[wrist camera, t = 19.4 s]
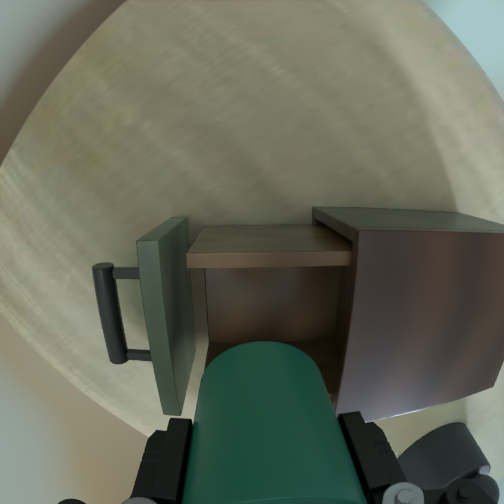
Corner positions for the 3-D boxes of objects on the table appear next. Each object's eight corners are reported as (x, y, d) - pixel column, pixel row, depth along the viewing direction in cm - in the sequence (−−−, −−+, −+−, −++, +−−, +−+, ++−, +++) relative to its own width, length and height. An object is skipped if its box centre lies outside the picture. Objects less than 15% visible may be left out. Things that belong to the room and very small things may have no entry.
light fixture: (402, 566, 19) (470, 516, 16) (374, 488, 34) (418, 428, 31) (470, 538, 20) (531, 482, 17) (436, 476, 35) (480, 417, 32)
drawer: (135, 348, 26) (103, 407, 17) (118, 219, 23) (64, 242, 15) (337, 346, 26) (368, 406, 18) (349, 216, 23) (399, 238, 15)
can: (185, 413, 13) (159, 550, 6) (226, 322, 11) (211, 488, 4) (288, 440, 13) (308, 566, 6) (343, 361, 12) (410, 500, 5)
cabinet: (304, 349, 27) (331, 427, 17) (312, 206, 24) (359, 229, 14) (438, 334, 27) (493, 387, 18) (458, 212, 24) (535, 234, 15)
